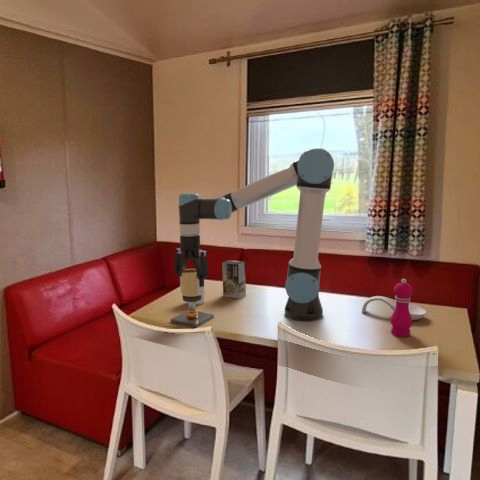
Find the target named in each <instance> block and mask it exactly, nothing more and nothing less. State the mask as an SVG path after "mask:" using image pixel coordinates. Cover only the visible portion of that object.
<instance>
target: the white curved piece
mask: <svg viewBox="0 0 480 480" xmlns="http://www.w3.org/2000/svg"><path fill="white" fill-rule="evenodd" d="M374 301H381V302H383V303H385V304H386V305H387V306H389V308H390V309H391V310H392V311H393V312H394V310H395V308H396V300H395V299H393V298H390V297H386V296H381V295H376V296H371V297H369V298H367V299H366V300H365V302H364V303H363V305H362V309H361V313H362V314H364V313H365V312H366V310H367V307H368V305H369V304H370V303H372V302H374ZM409 313H410V315H411V318H412V321H416V320H420V319H423V317H424V316H426V314H427V311H426V310H425V309H424V308H423V307H420V306H417V305H414V304H410V303H409Z"/></svg>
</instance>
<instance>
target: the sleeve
mask: <svg viewBox="0 0 480 480" xmlns="http://www.w3.org/2000/svg"><path fill="white" fill-rule="evenodd" d="M198 278H199V277H198V274H197V272H196V269H195V268H186V269H185V270H182V271H181V279H182V293H181V294H182V297H183V296H188V297H193V296H198V295H197V279H198Z"/></svg>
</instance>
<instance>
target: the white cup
mask: <svg viewBox="0 0 480 480" xmlns="http://www.w3.org/2000/svg"><path fill="white" fill-rule="evenodd" d="M205 291H206V279H204V286H203V294H201V300H199V301H197V302H196V306H197V305H203V304H205V293H206V292H205Z"/></svg>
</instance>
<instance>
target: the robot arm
mask: <svg viewBox="0 0 480 480" xmlns="http://www.w3.org/2000/svg"><path fill="white" fill-rule="evenodd" d="M334 167H335V161H334V159H333V155H331V153H330V152H329V151H327V150H326V149H325V148H322V147H311V148H308V149H306V150H305V151H304V152H303V153H302V154H301V155H300V157H299V158H298V159H296V160H295V161H292V162H291V163H290V165H289V166H287V167H285V168H282V169H281V170H279V171H276V172H274V173H272V174H269V175H267V176H265V177H262V178H260V179H257V180H256V181H254V182H252V183H248V184H247V185H244V186H242V187H240V188H238V189H236V190H233V191H231V192H229V193H226V194H224V195H222V196H219V197H217V198H200V195H199V193H197V192H196V193H195V192H189V193H188V192H187V193H181V194H179V195H178V217H179V223H178V224H179V234H180V236H179V244H180V247H178V248H174V250H173V251H174V268H173V269H174V270H173V272H174V274H177V276H178V283H179V284H180V285H179V287H180V293H181V294H182V279H181V271H182V270H185V269H187V266H188V262H189V260H191V261H192V263H193V265H194V267H195V268H194V269H196V272H197V274H198V277H199V278H198V279H197V295H198V296H199V295H201V294H203V286H204V280H205V278H207V277H209V269H208V267H209V266H208V260H207V256H208V255H207V254H208V251H207V250H202V249H201V247H200V245H201V235H200V231H201V230H200V229H201V226H200V225H201V223H200V220H219V221H222V220H229V219H231V217H232V213H235V212H236V211H239V210H242V209H243V208H246V207H248V206H250V205H253V204H256V203H258V202H260V201H263V200H266V199H267V198H269V197H273V196H274V195H277V194H279V193H281V192H284V191H286V190H288V189H291V188H294V187H296V188H297V189H298V191H299V193H300V194H299V202H298V210H297V211H298V212H297V221H296V229H295V230H296V231H295V238H294V249H293V250H294V251H293V258H291V259H290V260H289V261H288V267H287V275H286V281H285V285H284V287H285V288H284V289H285V292H286V294H287V296H288V298H287V301H286V304H285V307H284V315H285V317H287V318H288V319H292V320H295V321H300V322H301V321H302V322H303V321H304V322H306V321H307V322H308V321H317V320H320V319H321V318H322V317H323V314H324V313H323V312H324V310H323V306H322V303H321V299H320V296H319V293H320V279H321V270H322V265H321V263H320V260H319V252H320V251H319V249H320V242H321V233H322V232H321V231H322V225H323V217H324V207H325V199H326V194H327V192H329V191H331V187H332V185H331V184H332V180H333V178H332V177H333V172H334Z"/></svg>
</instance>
